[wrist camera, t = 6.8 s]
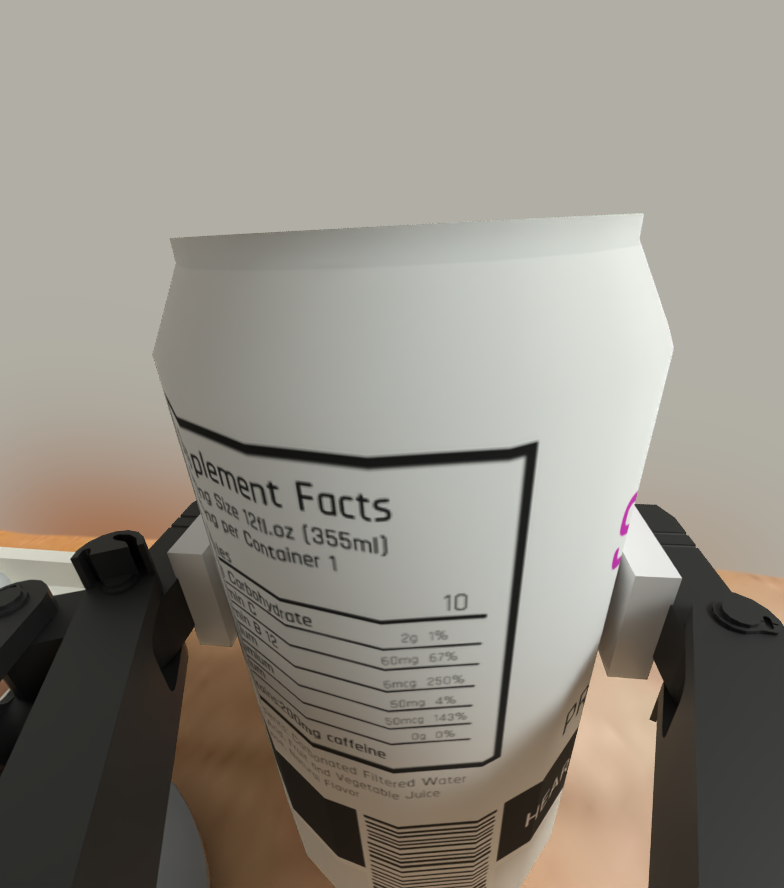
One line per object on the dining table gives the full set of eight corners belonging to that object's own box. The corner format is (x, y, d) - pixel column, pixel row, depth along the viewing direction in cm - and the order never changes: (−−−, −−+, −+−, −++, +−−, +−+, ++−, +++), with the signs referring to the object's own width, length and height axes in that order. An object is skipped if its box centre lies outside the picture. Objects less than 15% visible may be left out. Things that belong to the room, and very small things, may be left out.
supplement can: (270, 689, 16) (146, 240, 9) (464, 613, 18) (480, 223, 12) (327, 1028, 9) (2, 245, 2) (620, 830, 12) (871, 201, 5)
